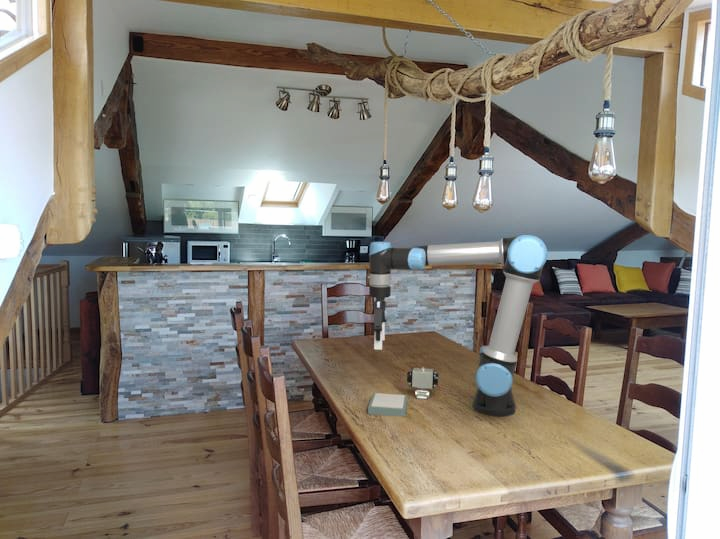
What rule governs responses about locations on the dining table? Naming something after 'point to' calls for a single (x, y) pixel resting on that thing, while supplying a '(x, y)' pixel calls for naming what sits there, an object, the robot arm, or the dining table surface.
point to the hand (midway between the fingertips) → (379, 344)
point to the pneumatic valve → (422, 381)
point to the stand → (388, 404)
